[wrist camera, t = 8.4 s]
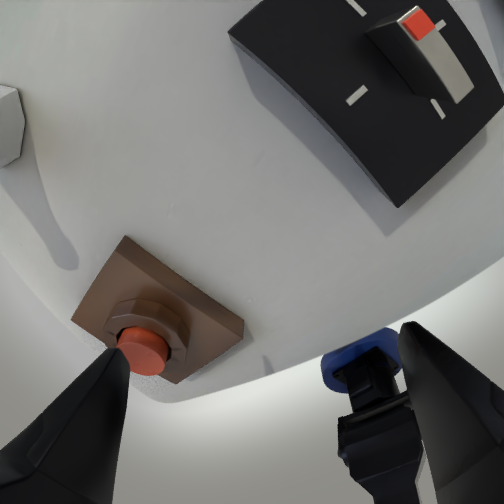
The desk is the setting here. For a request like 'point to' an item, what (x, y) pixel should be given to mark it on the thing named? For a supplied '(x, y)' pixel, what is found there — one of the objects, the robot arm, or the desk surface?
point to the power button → (144, 350)
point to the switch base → (371, 84)
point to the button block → (157, 310)
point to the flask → (10, 125)
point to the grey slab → (421, 55)
